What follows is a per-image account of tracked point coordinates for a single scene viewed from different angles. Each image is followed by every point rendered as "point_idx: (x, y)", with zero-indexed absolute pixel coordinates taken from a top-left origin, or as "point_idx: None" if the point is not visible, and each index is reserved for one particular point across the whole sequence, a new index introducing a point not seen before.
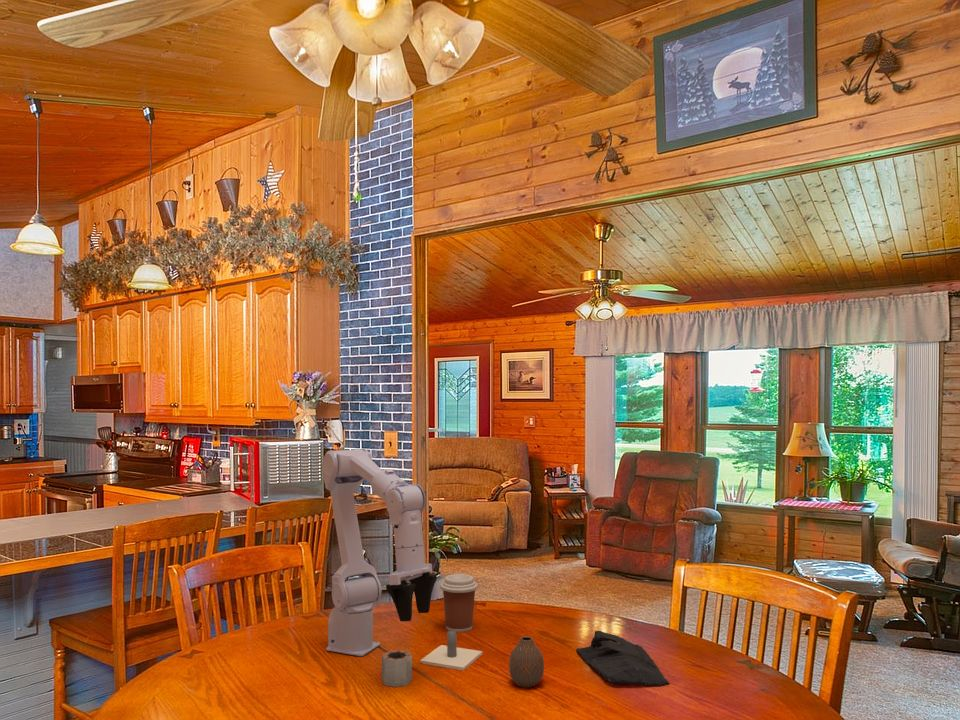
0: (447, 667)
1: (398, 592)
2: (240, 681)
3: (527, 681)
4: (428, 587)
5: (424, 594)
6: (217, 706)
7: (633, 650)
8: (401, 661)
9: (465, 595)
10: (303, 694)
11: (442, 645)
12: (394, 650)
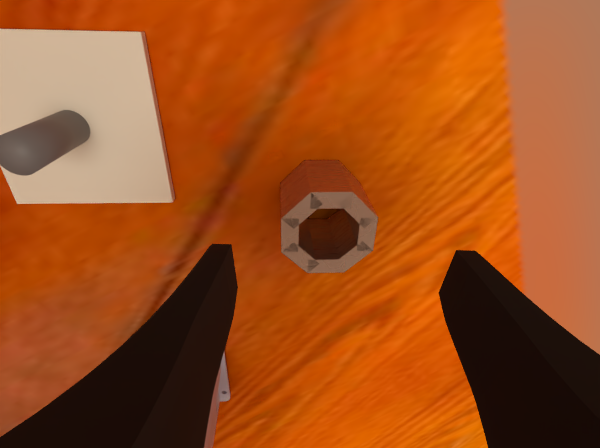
0: (156, 102)
1: None
2: (413, 418)
3: None
4: (168, 394)
5: (199, 358)
6: None
7: None
8: (362, 201)
9: None
10: (445, 324)
11: (17, 197)
12: (292, 260)
